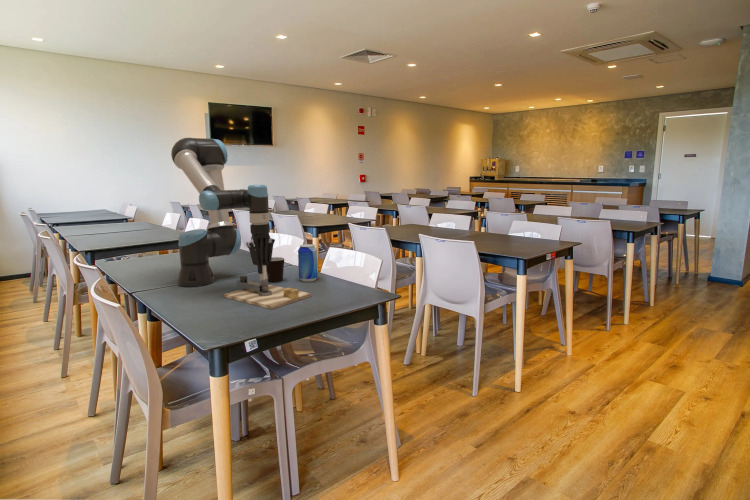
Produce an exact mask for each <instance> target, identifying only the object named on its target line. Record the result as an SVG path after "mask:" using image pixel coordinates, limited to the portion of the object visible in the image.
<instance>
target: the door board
mask: <svg viewBox="0 0 750 500" xmlns="http://www.w3.org/2000/svg"><path fill="white" fill-rule="evenodd" d="M261 284H262V291H261V292H258V291H253V290H249V289H245V288H242V289H241V288H240V289H239V290H234V291H231V292H227V293H224V294H223V297H224V298H226V299H229V300H234V301H238V302H241V303H245V304H250V305H253V306H257V307H260V308H265V309H269V310H274V309H275V310H276V309H278V308H280V307H284V306H288V305H289V304H293V303H296V302H299V301H302V300H304V299H308V298H310V297H312V293H310V292H305V291H301V290H299V289H298V288H293V287H282V286H276V285H273V284H269V281H268V278H267V279H263V280H262V281H261Z"/></svg>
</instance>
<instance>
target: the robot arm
mask: <svg viewBox="0 0 750 500" xmlns="http://www.w3.org/2000/svg"><path fill="white" fill-rule="evenodd" d="M170 152H171V153H170V154H171V155H170V156H171V159H172V162H173V163H174V165H175V166H176V167H177V168H178V169H180V170H182V171H183V173H184V175H185V176H186V177H187V178H188V180H189V181H190V183H191V184H192V186H193V187H194V188H195V189H196V191H197V192H198V194H199V195H198V201H199V202H198V203H199V206H200V208H201V209H202V210H204V211H207V213H208V217H209V225H208V227H207V230H206V229H203V228H199V229H191V230H187V231H184V232H181V233H180V234H179V235H178V251H179V260H180V261H179V262H180V269H179V274H178V276H177V284H178V286H179V287H184V288H185V287H188V288H191V287H193V288H194V287H201V286H208V285H210V284H213V283H214V282H215V275H214V273H213V270H212V268H211V266H210V260H209V259H210V258H216V257H225V256H230V255H235V254H237V253H238V252H239V250H240V248H241V246H242V236H241V232H240V231H239V230H238V229H237V228H235V225H234V224H233V223H232V222H231V221H230V216H229V210H233V209H234V210H235V209H248V210H249V214H248V215H249V223H250V225H249V227H250V229H249V230H250V234H251V236H250V237H251V238H250V241H246V246H247V248H248V250H249V254H250V258H251V261H252V264H253V265H255V266H257V274H258V275H259V281H260V282H262V280H263V279H267V280H268V275H267V271H268V270H267V265H269V263H270V262H271V259H272V257H273V250H274V244H275V241H276V240H275V238H272V237H271V236H270V233H271V230H270V229H271V228H270V227H271V226H270V211H269V193H268V186H267V185H266V184H249V185H248V186H247V189H245V188H244V189H242V188H241V189H225V184H224V178H223V172H222V171H223V170H224V168H225V164H227V162H228V155H229V154H228V150H227V148H226V145H225V144H224V142H223V141H221V140H220V139H215V138H199V137H198V138H197V137H184V138H180V139H179V140H178V141H176V142H175V143H174V145H173V146H172V148H171V151H170Z"/></svg>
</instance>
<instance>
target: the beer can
mask: <svg viewBox="0 0 750 500" xmlns="http://www.w3.org/2000/svg"><path fill="white" fill-rule="evenodd" d="M297 258H298V260H297V261H298V278H299V280H300V281H301V282H304V283H305V282H307V283H309V282H314V281H315V282H316V280H317V278H319V277H318V274H319V273H318V250H317V248H316V246H315V245H314V244H311V243H305V244H300V245H299V248H298V249H297Z"/></svg>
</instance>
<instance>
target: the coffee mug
mask: <svg viewBox="0 0 750 500" xmlns="http://www.w3.org/2000/svg"><path fill="white" fill-rule="evenodd" d="M284 268H285V257H280V256H278V257H277V256H275V257H274V256H272V259H271V262H270V263H269V265H267V270H268V271H267V272H266V273H267V280H268V283H281V282H283V281H284Z"/></svg>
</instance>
